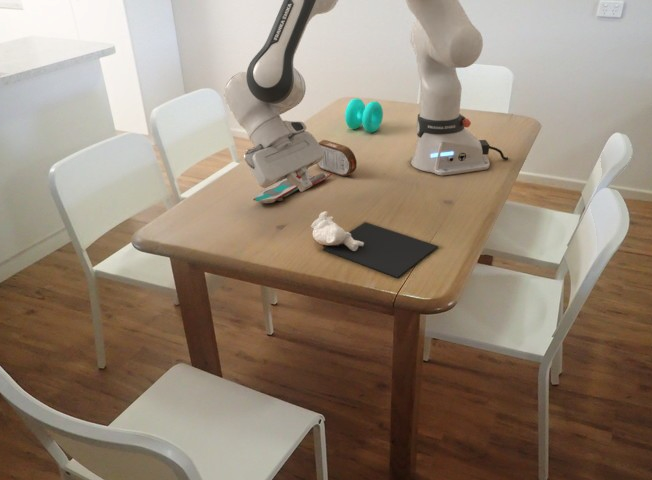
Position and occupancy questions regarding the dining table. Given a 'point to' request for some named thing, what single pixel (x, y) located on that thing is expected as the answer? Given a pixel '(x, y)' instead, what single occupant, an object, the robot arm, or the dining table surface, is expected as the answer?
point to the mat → (383, 250)
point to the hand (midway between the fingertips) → (307, 188)
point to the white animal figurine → (332, 233)
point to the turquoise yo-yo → (363, 115)
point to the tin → (337, 158)
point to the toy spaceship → (285, 189)
